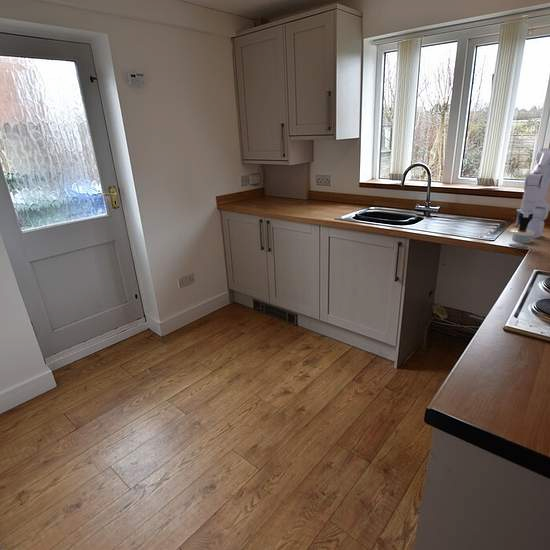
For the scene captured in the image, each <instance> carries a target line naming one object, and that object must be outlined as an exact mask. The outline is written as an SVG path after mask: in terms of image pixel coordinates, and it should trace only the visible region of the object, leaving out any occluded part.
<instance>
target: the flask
mask: <svg viewBox="0 0 550 550" xmlns="http://www.w3.org/2000/svg"><path fill="white" fill-rule="evenodd" d="M519 213H521V212H519V211H517V216H516V220H515V224H514V227H516V228H518V226H519V224H520V221H519V217H518V216H519Z"/></svg>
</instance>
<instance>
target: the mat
mask: <svg viewBox="0 0 550 550" xmlns="http://www.w3.org/2000/svg"><path fill="white" fill-rule="evenodd" d="M508 247H510V248H513V249H519V250H525V249H526V250H527V249H528V248H529V247H528V246H527V245H525V244H522V243H520V244H519V243H508Z"/></svg>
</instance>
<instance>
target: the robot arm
mask: <svg viewBox="0 0 550 550" xmlns="http://www.w3.org/2000/svg"><path fill="white" fill-rule="evenodd" d="M535 159H536V163H537V164H536V165H534V167H533V168H532V170H531V172H530V173H529V174H527V175H526V177H525V181H524V187H523V195H522V199H521V204H520V208H517V209H516V212H518V211H519V212H521V213H519V216H518V215H517V216H518V217H519V221H520V226H519V230H520V231H525V230H526V228H527V230H530V231H533V232H534V235H533V236H532V240H533V239H534V240H535V239H538V238H541V236H542V237H544V234H543V231H544V226H545V220H547V218H548V215H549V211H550V204H549V203H548V202H547V201H546V200H545V199H546V196H547V194H548V190H549V185H550V148H545V147H544V148H543V147H540V148H539V149H538V151H537V154H536V158H535ZM527 225H528V227H527Z"/></svg>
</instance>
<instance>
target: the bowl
mask: <svg viewBox="0 0 550 550" xmlns="http://www.w3.org/2000/svg"><path fill="white" fill-rule="evenodd" d="M532 236H533V235H531V236H524V235H517V234H513V233H512V238H511V240H512V241H513V242H516V243H520V244H530V243H531V242H532V240H533V238H532Z"/></svg>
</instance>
